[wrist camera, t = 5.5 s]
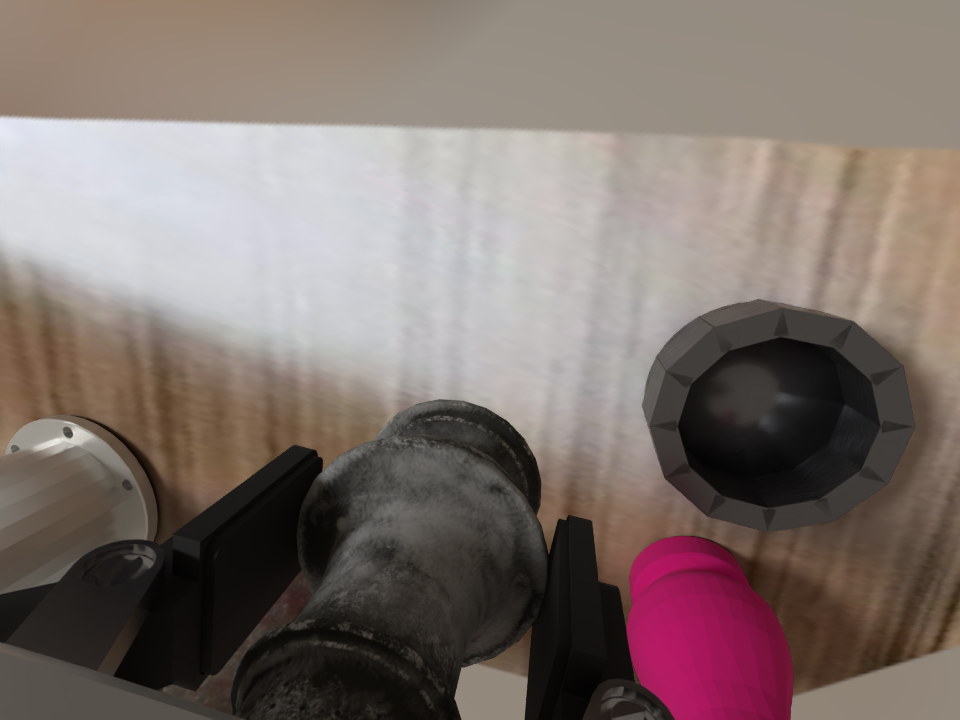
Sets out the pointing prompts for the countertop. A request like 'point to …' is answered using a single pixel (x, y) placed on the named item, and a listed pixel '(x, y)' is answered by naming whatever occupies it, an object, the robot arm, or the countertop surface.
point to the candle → (219, 686)
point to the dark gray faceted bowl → (776, 414)
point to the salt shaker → (406, 572)
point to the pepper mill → (706, 635)
